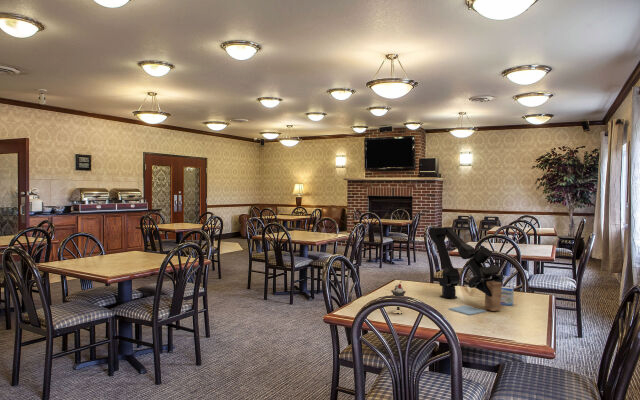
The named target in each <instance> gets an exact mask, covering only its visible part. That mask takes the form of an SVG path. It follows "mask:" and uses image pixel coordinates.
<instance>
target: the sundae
mask: <svg viewBox="0 0 640 400" xmlns="http://www.w3.org/2000/svg"><path fill="white" fill-rule="evenodd" d="M401 283H402V281H400V283H399V284H397V285H394V289H391V291H390V292H391V293H392V296H393V295H395V296H404V297H405V294H406V291H405V290H404V289H403V286H402V284H401ZM396 310H400V311H401V308H400V307H397V306H396Z"/></svg>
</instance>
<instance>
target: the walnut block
mask: <svg viewBox="0 0 640 400" xmlns="http://www.w3.org/2000/svg"><path fill="white" fill-rule="evenodd" d="M502 284H503V283H502V282H496V281H486V285H487V287H488V289H489V290H490V292H491V294H492V296H491V297H490V296H488V295H487V294H485V293H484V310H489V311H492V312H494V311H501V307H502V305H501V287H503V285H502Z"/></svg>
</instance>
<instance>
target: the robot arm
mask: <svg viewBox="0 0 640 400" xmlns="http://www.w3.org/2000/svg"><path fill="white" fill-rule="evenodd" d="M428 236H429V237H430V240H431V241H432V242H433V243H434V244H435V246H436V249H437V252H438V256H439V259H440V262H441V265H442V272H441V277H442V278H441V279H440V280H439V282H438V284H439V286H440V287H441V295H439V296H440V297H441V298H443V299H448V300H449V299H450V300H451V299H457V298H458V297H457V296H456V295H457V294H456V293H457V292H456V287H457V286H459V283H460V279H461V277H460V276H461V274H460V272H459V269H458V267H457V268H455V267H454V266H453V264H452V261H451V260H452V259H451V258H450V257H451V256H450V254H449V251H448V248H447V245H446V242H445V240H446V238H447V239H448V240H449V241H450V243H452V245H453V246H454V247H455V248H456V249H457V253H458V255H459V256H460V257H461V259H462V260H467V261H466V264H465V268H470V269H471V271H472V275H473V276H472V278H471V279H469V281H468V283H467V285H468V287H469V288H470V289H474V288H475V289H477V290H479V291H480V292H482V293H484V295H485V294H487V295H488V296H490V297H491V296H492V294H491V292H490V290H489V289H488V287H487V285H486V281H496V282H500V283H502V281H503V280H504V279H505V278H504V276H503V274H496V273H499V271H500V269H499V266H498V265H497V264H493V265H490V266H484V265H483V264H485V263H486V262H488V260H490V257H492V256H493V253H492V250H490V249H489V248H488V247H486V246H484V245H479V247H478V249H477V250H476V249H475V248H474V247H473V246H472V245H470V244H469V243H467V242H465V241H464V240H463V239H462V238H461V237H460V236H459V234H458V233H457V232H455V231H454V228H453V227H451V226H444V227H443V226H434V227H433V226H432V227H430V228H429V230H428ZM493 274H494V275H493ZM440 297H439V298H440Z"/></svg>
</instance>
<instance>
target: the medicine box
mask: <svg viewBox="0 0 640 400" xmlns="http://www.w3.org/2000/svg"><path fill="white" fill-rule="evenodd" d="M514 289H515V288H514V287H510V286H501V306H509V307H513V305H514V297H515V296H514V291H515V290H514Z"/></svg>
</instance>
